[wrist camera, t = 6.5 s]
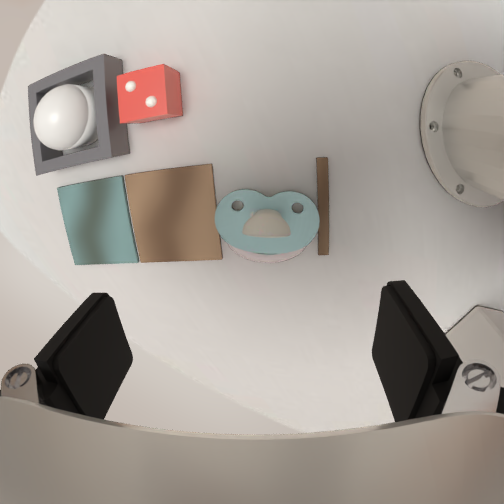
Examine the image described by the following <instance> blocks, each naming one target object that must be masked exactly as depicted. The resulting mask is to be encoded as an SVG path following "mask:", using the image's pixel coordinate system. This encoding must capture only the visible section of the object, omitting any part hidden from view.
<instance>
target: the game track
mask: <svg viewBox="0 0 504 504" xmlns="http://www.w3.org/2000/svg"><path fill="white" fill-rule="evenodd" d="M316 160H317V189H318V214H319V220H320V222H319V228H318V255H329V182H328V158H327V157H323V158H316ZM125 182H126V188H127V194H128V200H129V206H130V212H131V217H132V222H133V228H134V233H135V238H136V242H137V247H138V252H139V256H140V261H141V263H145V262H171V261H197V260H221V259H222V250H221V241H220V234H219V233H218V231H217V229H216V225H215V211H216V209H217V207H216V198H215V189H214V179H213V169H212V164H206V165H196V166H187V167H179V168H171V169H163V170H156V171H148V172H142V173H135V174H129V175H125ZM57 190H58V195H59V201H60V206H61V210H62V215H63V220H64V224H65V228H66V232H67V236H68V240H69V244H70V248H71V252H72V255H73V259H74V263H75V265H89V264H118V263H138V262H139V258H138V254H137V249H136V245H135V240H134V235H133V230H132V225H131V220H130V214H129V209H128V203H127V197H126V191H125V185H124V178H123V175H122V176H116V177H110V178H105V179H99V180H94V181H88V182H83V183H78V184H73V185H68V186H64V187H59V188H57Z"/></svg>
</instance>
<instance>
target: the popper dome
mask: <svg viewBox="0 0 504 504" xmlns="http://www.w3.org/2000/svg"><path fill="white" fill-rule="evenodd" d="M33 122H34V130H35V133H36V135H37V137H38V139H39V140H40V141H41V142H42V143H43V144H44V145H45V146H47V147H49V148H51V149H55V150H67V149H72V148H77V147H82V146H87V145H90V144H92V143H94V142H95V141H96V140H97V139H98V134H97V125H96V114H95V101H94V87H88V86H81V85H72V84H65V85H61V86H58V87H56V88H54V89H52V90H50V91H49V92H48V93H47V94H45V95H44V97H43V98H42V99H41V100H40V102H39V103H38V105H37V108H36V110H35V114H34V121H33Z"/></svg>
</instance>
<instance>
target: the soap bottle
mask: <svg viewBox="0 0 504 504" xmlns="http://www.w3.org/2000/svg"><path fill="white" fill-rule="evenodd" d="M445 335H446V337H447V338H448V340H449V341H450V342H451V344H452V345H453V347H454V348H455V350H456V351H457V353H458V354H459V357H460V359H461V360H462V362H463V363H464V362H466V361H468V360H476V359H477V360H482V361H485V362H488V363H490V364H491V365H492V366H494V367H495V368H496V369H497V371H498V372H499V374H500V376H501V387H503V388H504V312H502V311H498V310H493V309H489V308H485V307H480V306H477V307H475V308H474V309H473V310H472V311H471V312H470V313H469V314H468V315H467V316H466V317H464V318H463V319H462V320H461V321H460V322H459V323H458V324H457V325H456V326H455V327H453V328H452V329H451V330H450V331H449V332H448V333H447V334H445Z"/></svg>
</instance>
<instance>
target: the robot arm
mask: <svg viewBox="0 0 504 504" xmlns="http://www.w3.org/2000/svg"><path fill="white" fill-rule="evenodd" d="M429 125H431V129H430V127H429ZM421 136H422V144H423V148H424V151H425V155H426V158H427V161H428V163H429V165H430V167H431V170H432V172H433V174H434V175H435V177H436V178H437V180H438V181H439V183H440V184H441V185H442V186H443V187H444V188H445V190H446V191H447V192H448V193H449V194H451V195H452V196H454V197H455V198H456V199H458V200H460V201H462V202H464V203H466V204H468V205H472V206H475V207H490V206H494V205H497V204H499V203H500V202H502V201H504V75H501V74H500V73H498V72H497V71H495V70H494V69H492V68H491V67H489V66H487V65H485V64H482V63H480V62H474V61H461V62H457V63H453V64H450V65H448V66H447V67H445V68H443V69H441V70H440V71H439V72H438V73H437V74H436V75H435V76H434V77H433V79H432V81H431V82H430V84H429V86H428V87H427V90H426V93H425V96H424V98H423V102H422V109H421ZM372 357H373V360H374V363H375V366H376V369H377V371H378V374H379V377H380V379H381V382H382V385H383V388H384V391H385V393H386V396H387V399H388V402H389V405H390V408H391V411H392V414H393V417H394V420H395V422H393V423H387V424H381V425H375V426H368V427H360V428H352V429H344V430H335V431H325V432H314V433H299V434H274V435H236V434H235V435H234V434H211V433H196V432H184V431H173V430H165V429H157V428H150V427H143V426H136V425H130V424H124V423H118V422H113V421H107V420H104V418H105V416H106V413H107V412H108V410H109V408H110V406H111V404H112V402H113V400H114V398H115V396H116V393H117V392H118V390H119V387H120V386H121V384H122V381H123V380H124V378H125V376H126V374H127V372H128V370H129V368H130V366H131V364H132V361H133V356H132V352H131V350H130V347H129V344H128V341H127V339H126V336H125V333H124V330H123V327H122V324H121V321H120V318H119V315H118V312H117V309H116V306H115V302H114V300H113V298H112V297H110V296H109V295H108V294H107V293H92V294H91V295H90V296H89V297H88V298H87V299H86V300H85V301H84V302H83V303H82V304H81V305H80V307H79V308H78V309H77V310H76V311H75V312H74V313H73V314H72V315H71V316H70V318H69V319H68V320H67V321H66V322H65V323H64V324H63V325H62V327H61V328H60V329H59V330H58V331H57V332H56V334H55V335H54V336H53V337H52V338H51V339H50V340H49V342H48V343H47V344H46V345H45V346H44V348H43V349H42V350H41V351H40V352H39V353H38V355H37V356H36V357H35V358H34V360H35V362H36V363H37V366H38V368H37V369H36V370H35V368H34V367H33V366H32V365H30V364H20V365H17V366H14V367H12V368H11V369H10V370H8V372H6V374H5V375H4V377H3V379H2V382H1V390H0V504H504V388H503V387H501V376H500V374H499V372H498V371H497V369H496V368H495V367H494V366H492V365H491V364H490V363H488V362H485V361H482V360H477V359H476V360H468V361H466V362H464V363H463V362H462V360H461V359H460V357H459V354H458V353H457V351H456V350H455V348H454V347H453V345H452V344H451V342H450V341H449V340H448V338H447V337H446V335H445V334H444V332H443V331H442V330H441V328H440V327H439V325H438V324H437V323H436V321H435V320H434V318H433V317H432V316H431V314H430V313H429V312H428V310H427V309H426V307H425V306H424V305H423V303H422V302H421V301H420V299H419V298H418V297H417V296H416V294H415V293H414V292H413V290H412V289H411V288H410V286H409V285H408V284H407V283H406V281H404V280H402V281H390V282H388V283H387V286H383V288H382V291H381V298H380V306H379V312H378V319H377V325H376V331H375V337H374V342H373V348H372Z"/></svg>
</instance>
